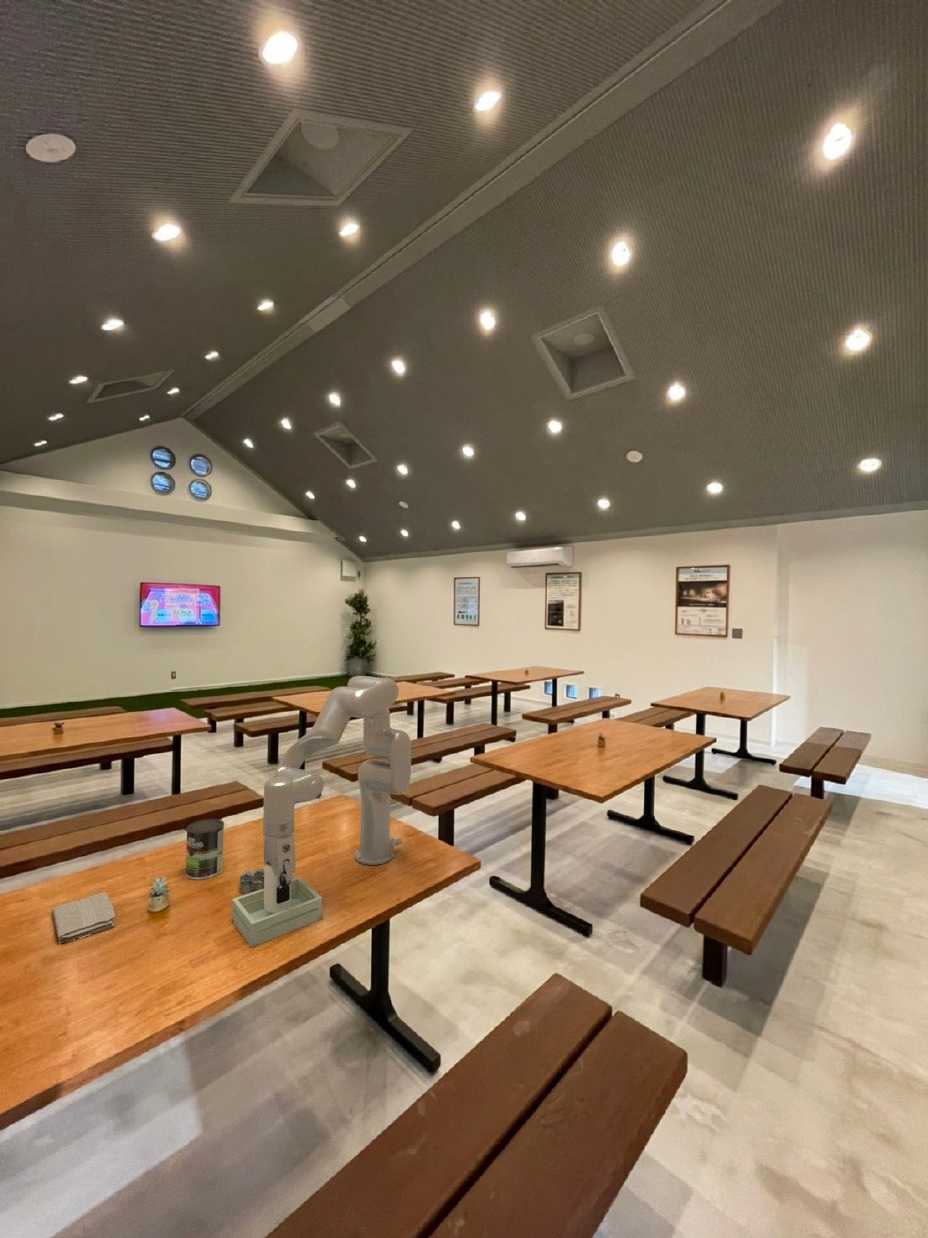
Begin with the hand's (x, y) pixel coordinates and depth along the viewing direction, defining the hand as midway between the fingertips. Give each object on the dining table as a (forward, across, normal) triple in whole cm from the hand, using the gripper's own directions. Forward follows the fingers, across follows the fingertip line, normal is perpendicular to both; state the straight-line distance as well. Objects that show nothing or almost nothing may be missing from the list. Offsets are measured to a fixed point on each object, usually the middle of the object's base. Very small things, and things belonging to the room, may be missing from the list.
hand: (277, 895), depth 136 cm
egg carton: (+7, +20, -3) cm, 21 cm away
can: (+3, 0, 0) cm, 3 cm away
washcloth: (+7, +31, +38) cm, 49 cm away
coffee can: (+7, +38, +7) cm, 39 cm away
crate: (+6, 0, 0) cm, 6 cm away
